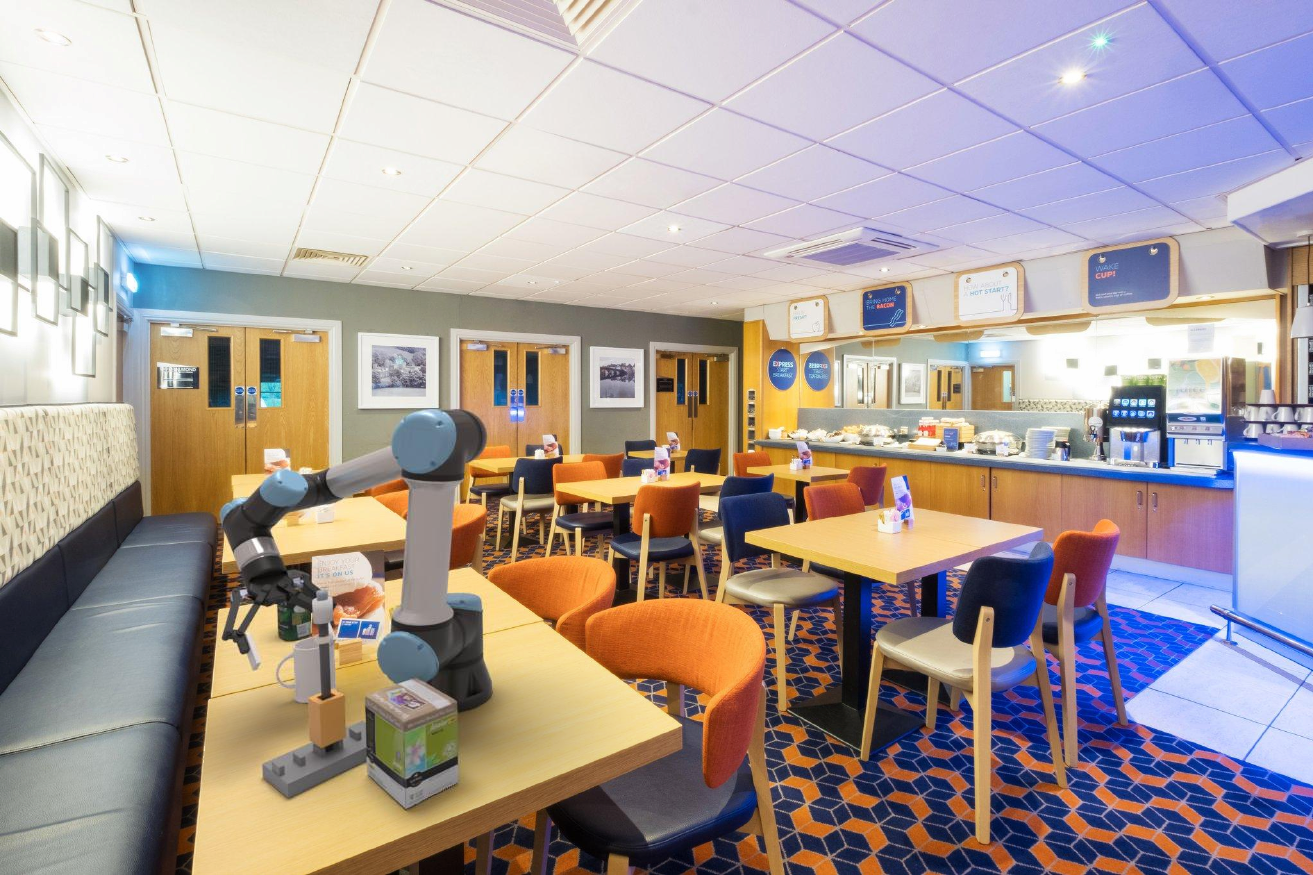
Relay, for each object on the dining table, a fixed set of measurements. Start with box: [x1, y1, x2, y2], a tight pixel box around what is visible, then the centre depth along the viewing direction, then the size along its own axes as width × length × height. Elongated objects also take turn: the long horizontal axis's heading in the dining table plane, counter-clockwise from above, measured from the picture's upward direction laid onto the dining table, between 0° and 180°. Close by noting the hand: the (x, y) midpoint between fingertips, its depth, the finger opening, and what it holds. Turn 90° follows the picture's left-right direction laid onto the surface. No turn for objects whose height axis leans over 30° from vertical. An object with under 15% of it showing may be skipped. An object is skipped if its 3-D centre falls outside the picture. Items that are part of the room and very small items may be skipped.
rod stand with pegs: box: [261, 589, 367, 799], centre depth 111 cm, size 18×10×32 cm, turn 144°
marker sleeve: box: [307, 689, 347, 748], centre depth 112 cm, size 4×4×8 cm
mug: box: [275, 636, 338, 704], centre depth 138 cm, size 12×8×12 cm
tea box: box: [364, 678, 459, 810], centre depth 107 cm, size 15×10×15 cm, turn 48°
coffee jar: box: [276, 569, 312, 641], centre depth 174 cm, size 10×8×19 cm
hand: (296, 654), depth 117 cm, fingers open, 13 cm apart
